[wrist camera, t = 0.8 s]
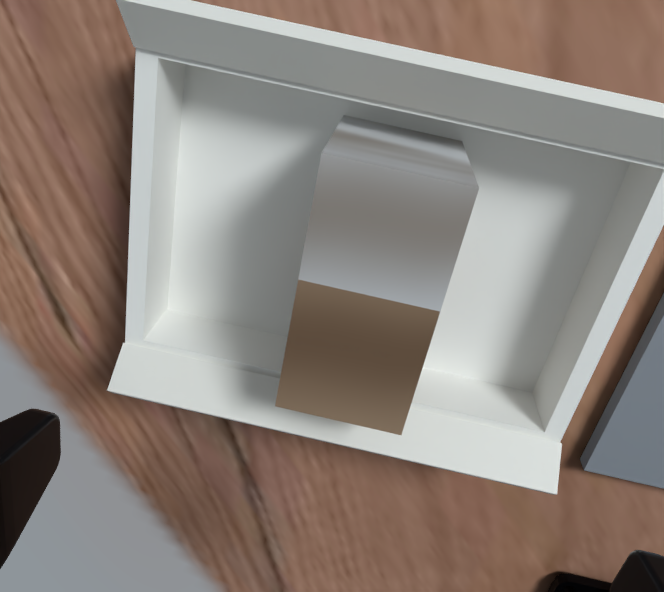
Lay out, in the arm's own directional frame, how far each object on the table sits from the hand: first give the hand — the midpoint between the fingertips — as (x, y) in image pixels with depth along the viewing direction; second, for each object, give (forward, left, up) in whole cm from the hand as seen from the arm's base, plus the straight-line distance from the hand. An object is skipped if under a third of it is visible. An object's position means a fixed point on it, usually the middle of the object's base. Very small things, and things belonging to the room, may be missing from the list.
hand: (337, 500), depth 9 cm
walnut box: (0, 0, -12) cm, 12 cm away
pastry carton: (0, 0, -12) cm, 12 cm away
